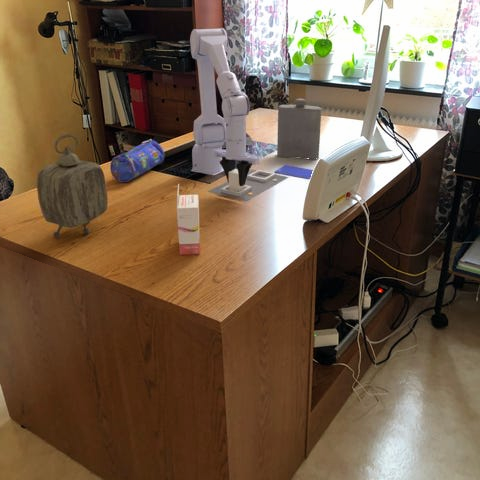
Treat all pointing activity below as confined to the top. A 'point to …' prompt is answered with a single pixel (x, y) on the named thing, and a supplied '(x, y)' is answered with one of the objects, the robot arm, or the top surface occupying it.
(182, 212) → the ink cartridge box
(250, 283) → the top surface
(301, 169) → the hard drive
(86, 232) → the tabletop clock
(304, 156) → the flask
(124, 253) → the top surface
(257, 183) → the port panel
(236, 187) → the plug
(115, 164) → the pencil case
